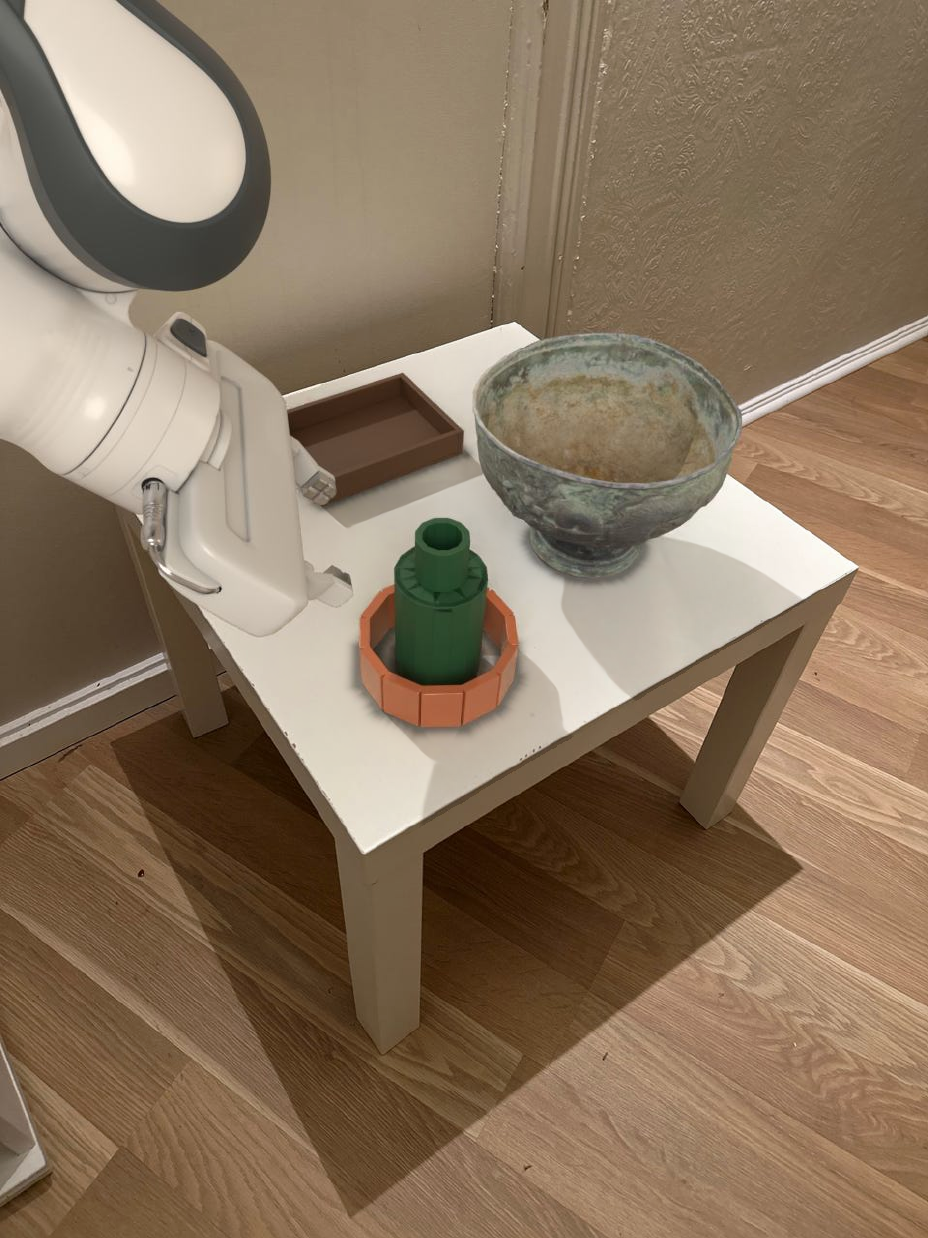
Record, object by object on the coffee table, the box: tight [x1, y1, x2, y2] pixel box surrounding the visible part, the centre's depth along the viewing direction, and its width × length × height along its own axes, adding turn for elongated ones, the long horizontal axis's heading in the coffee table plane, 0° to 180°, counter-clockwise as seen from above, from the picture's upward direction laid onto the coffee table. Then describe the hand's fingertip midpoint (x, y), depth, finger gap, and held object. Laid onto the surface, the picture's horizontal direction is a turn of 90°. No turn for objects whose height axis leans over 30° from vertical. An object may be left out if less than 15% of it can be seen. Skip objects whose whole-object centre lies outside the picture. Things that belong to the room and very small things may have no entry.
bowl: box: [471, 331, 743, 579], centre depth 73 cm, size 20×19×15 cm
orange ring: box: [358, 583, 520, 728], centre depth 67 cm, size 12×12×4 cm
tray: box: [287, 372, 465, 507], centre depth 85 cm, size 15×11×3 cm
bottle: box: [393, 517, 489, 686], centre depth 63 cm, size 6×6×14 cm
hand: (337, 540), depth 58 cm, fingers open, 8 cm apart
